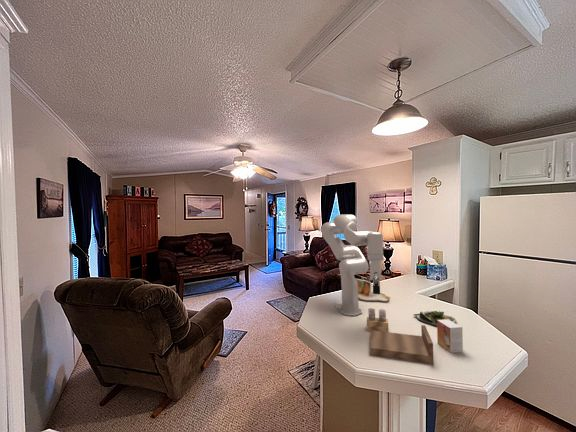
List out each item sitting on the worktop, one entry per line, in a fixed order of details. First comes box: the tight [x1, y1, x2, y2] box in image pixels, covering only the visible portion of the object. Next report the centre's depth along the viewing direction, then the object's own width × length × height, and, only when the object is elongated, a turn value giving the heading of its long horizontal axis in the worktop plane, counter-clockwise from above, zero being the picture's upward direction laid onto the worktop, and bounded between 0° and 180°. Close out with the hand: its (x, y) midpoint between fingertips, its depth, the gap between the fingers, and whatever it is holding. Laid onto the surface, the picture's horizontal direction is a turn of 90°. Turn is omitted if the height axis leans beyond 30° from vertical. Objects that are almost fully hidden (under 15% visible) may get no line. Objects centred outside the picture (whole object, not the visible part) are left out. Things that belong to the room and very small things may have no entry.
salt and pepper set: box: [366, 307, 390, 332], centre depth 123 cm, size 10×5×10 cm, turn 70°
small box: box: [436, 319, 464, 354], centre depth 105 cm, size 8×6×10 cm
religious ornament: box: [356, 278, 391, 303], centre depth 168 cm, size 25×20×12 cm
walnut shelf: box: [369, 324, 435, 365], centre depth 105 cm, size 23×16×8 cm
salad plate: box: [413, 310, 457, 328], centre depth 133 cm, size 19×18×5 cm
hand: (376, 290), depth 123 cm, fingers open, 9 cm apart
